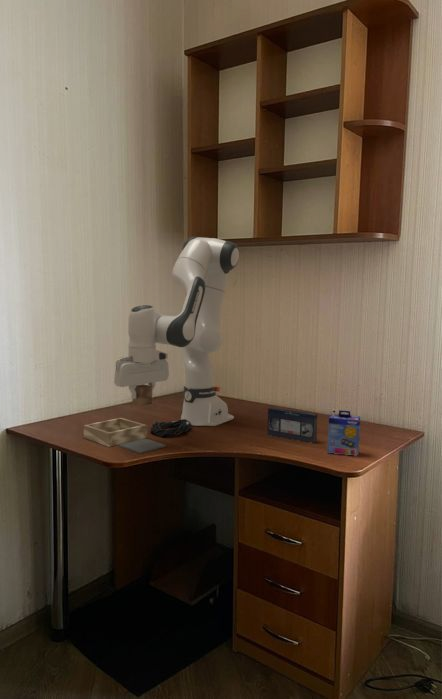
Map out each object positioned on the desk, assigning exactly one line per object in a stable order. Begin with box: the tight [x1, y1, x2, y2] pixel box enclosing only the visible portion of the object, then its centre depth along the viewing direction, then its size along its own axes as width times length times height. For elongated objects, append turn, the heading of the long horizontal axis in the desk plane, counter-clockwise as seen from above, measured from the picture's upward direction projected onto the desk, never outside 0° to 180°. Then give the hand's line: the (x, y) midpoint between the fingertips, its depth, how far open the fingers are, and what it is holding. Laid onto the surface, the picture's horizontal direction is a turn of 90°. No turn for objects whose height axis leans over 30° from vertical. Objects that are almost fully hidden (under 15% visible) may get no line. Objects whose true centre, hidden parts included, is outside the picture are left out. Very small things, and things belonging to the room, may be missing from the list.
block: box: [131, 384, 153, 407], centre depth 180 cm, size 4×4×6 cm
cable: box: [149, 418, 193, 438], centre depth 201 cm, size 17×14×4 cm
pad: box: [118, 438, 167, 454], centre depth 182 cm, size 11×11×1 cm
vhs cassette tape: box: [267, 407, 318, 444], centre depth 193 cm, size 18×3×10 cm, turn 55°
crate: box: [83, 417, 148, 448], centre depth 192 cm, size 16×15×4 cm
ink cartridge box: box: [327, 409, 361, 457], centre depth 177 cm, size 10×6×14 cm, turn 73°
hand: (142, 397), depth 180 cm, fingers closed on block, 4 cm apart
